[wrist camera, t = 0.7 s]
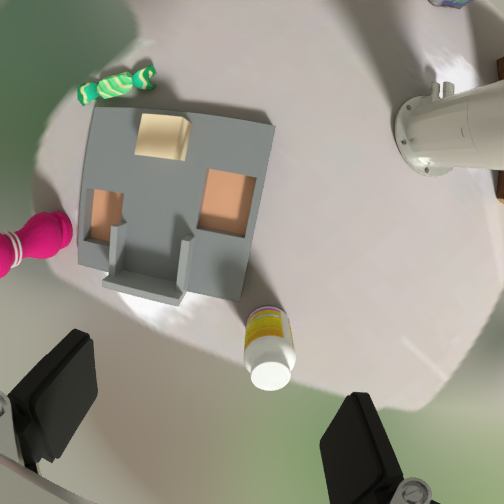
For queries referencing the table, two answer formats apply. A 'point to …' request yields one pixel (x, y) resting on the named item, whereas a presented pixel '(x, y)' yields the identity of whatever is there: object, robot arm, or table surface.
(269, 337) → the supplement bottle
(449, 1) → the flask
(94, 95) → the candy
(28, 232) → the pepper mill
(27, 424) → the robot arm
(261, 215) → the table surface
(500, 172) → the bread
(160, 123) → the block
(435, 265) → the table surface
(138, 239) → the plate
